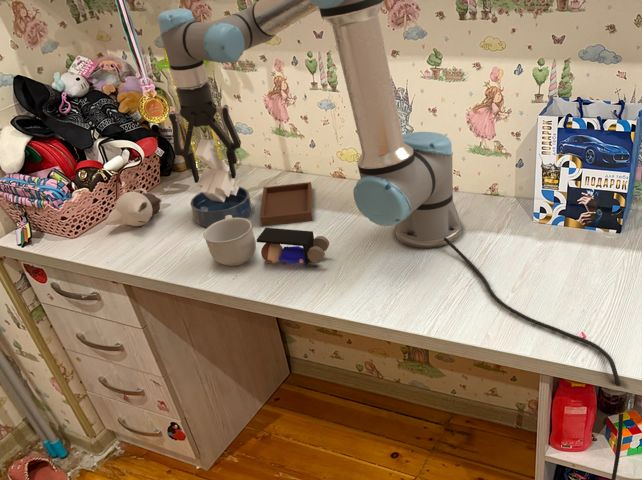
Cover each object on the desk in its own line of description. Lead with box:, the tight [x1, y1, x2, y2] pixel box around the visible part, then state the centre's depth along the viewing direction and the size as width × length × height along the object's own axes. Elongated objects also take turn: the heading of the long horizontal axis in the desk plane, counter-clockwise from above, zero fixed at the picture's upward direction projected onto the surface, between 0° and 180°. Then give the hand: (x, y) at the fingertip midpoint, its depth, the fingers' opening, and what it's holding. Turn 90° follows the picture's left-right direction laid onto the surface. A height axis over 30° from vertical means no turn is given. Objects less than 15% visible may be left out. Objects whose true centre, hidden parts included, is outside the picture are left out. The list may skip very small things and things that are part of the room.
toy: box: [105, 187, 163, 227], centre depth 176 cm, size 13×9×15 cm
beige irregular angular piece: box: [194, 138, 240, 202], centre depth 171 cm, size 7×12×15 cm
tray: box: [259, 181, 313, 227], centre depth 178 cm, size 18×13×2 cm
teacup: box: [203, 215, 257, 267], centre depth 159 cm, size 14×11×8 cm
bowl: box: [190, 186, 253, 228], centre depth 177 cm, size 15×15×4 cm
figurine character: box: [256, 227, 330, 267], centre depth 155 cm, size 7×8×15 cm
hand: (215, 178), depth 172 cm, fingers closed on beige irregular angular piece, 8 cm apart
